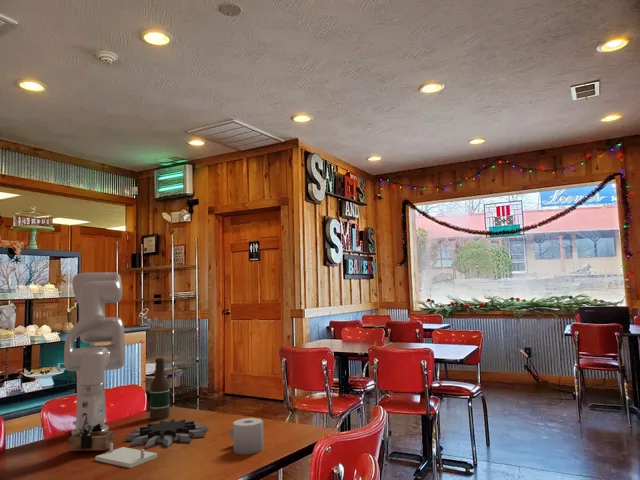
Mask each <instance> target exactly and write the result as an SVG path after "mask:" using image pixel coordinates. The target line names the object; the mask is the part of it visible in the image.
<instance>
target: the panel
mask: <svg viewBox="0 0 640 480" xmlns="http://www.w3.org/2000/svg"><path fill="white" fill-rule="evenodd" d="M157 458H158V453H157V452H151V451H146V450H145V448H141V449H136V448H131V447H125V446H122V447H119V448H116V449H114V444H113V443H110V447H109V451H107V452H105V453H102V454H99V455H96V456H95V461H97V462H101V463H105V464H110V465H115V466H121V467H123V468H129V469H131V468H135V467H136V466H137V467H138V466H139V465H143V464H144V463H146V462H149V461H152V460H156V459H157Z"/></svg>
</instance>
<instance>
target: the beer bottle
mask: <svg viewBox="0 0 640 480" xmlns="http://www.w3.org/2000/svg"><path fill="white" fill-rule="evenodd" d="M154 359H155V360H154V361H155V368H154V369H155V370H154V378H153V380H152V382H151V383H150V387H149V388H150V389H149V417H150V420H153V421H157V420H158V421H163V420H165V419H168V418H169V417H170V412H171V411H170V409H171V408H170V404H171V403H170V402H171V401H170V399H171V397H170V395H171V394H170V392H171V390H170V383H169V380H168V379H167V378H166V375H165V358H164V357H157V358H154Z"/></svg>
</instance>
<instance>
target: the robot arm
mask: <svg viewBox="0 0 640 480" xmlns="http://www.w3.org/2000/svg"><path fill="white" fill-rule="evenodd" d="M121 277H122V276H121V275H120V274H119V273H118V272H113V271H110V272H108V271H107V272H106V271H105V272H104V271H103V272H93V271H92V272H81V273H77V274H76V275H74V276H73V277H72V281H71V283H72V284H71V285H72V286H71V287H72V291H73V295H74V297H75V301H76V303H77V305H78V308H79V311H78V312H79V313H78V314H79V315H78V317H79V320H78V322H77V323H76V324H75V325H74V326H73V327H72V328H71V329H70V331H69V332H68V334H67V336H66V338H65V342H64V354H63V359H64V360H63V363H64V367H65V369H66V371H69V372H75V373H76V419H75V420H73V421H72V425H74V426H75V428H73V430H72V431H71V436H72V435H74V434H75V433H77V432H80V433H81V434H80V436H81V449H90V448H91V447H92V435H91V431H110V430H109V429H110V428H109V427H110V426H109V425H107V424H105V420H106V418H107V407H106V403H107V402H106V395H105V393H106V391H105V389H106V388H105V384H106V381H105V380H106V377H105V376H106V375H105V373H106V372H105V371H113V370H120V369H122V368H123V366H124V365H125V363H126V362H125V360H126V348H125V347H126V345H125V344H126V343H125V342H126V341H125V328H124V327H125V326H124V325H125V324H124V322H123V320H122V319H121V318H120V317H116V316H115V317H110V316H109V317H106V304H113V303H115V304H116V303H120V301H122V298H123V284H122V283H123V282H122V278H121ZM77 338H80V341H81V342H82V343H84V344H98V343H101V344H102V343H110V344H105V345H103V344H102V345H89V346H88V345H87V346H84V347H83V346H82V347H79V348H74V346H75V345H74V344H75V341H76V340H77Z"/></svg>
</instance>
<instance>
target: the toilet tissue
mask: <svg viewBox="0 0 640 480" xmlns="http://www.w3.org/2000/svg"><path fill="white" fill-rule="evenodd" d="M227 433H228V434H229V436H230V437H231V438H232V444H233V447H232V448H233V452H234V453H236V454H238V455H253V454H257V453H260V452H262V451H263V450H264V448H265V446H264V445H265V444H264V420H263V419H261V418H256V417H247V418H240V419H236V420H235V421H233V422H232V429H230V430H228V431H227ZM262 449H263V450H262Z"/></svg>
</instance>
